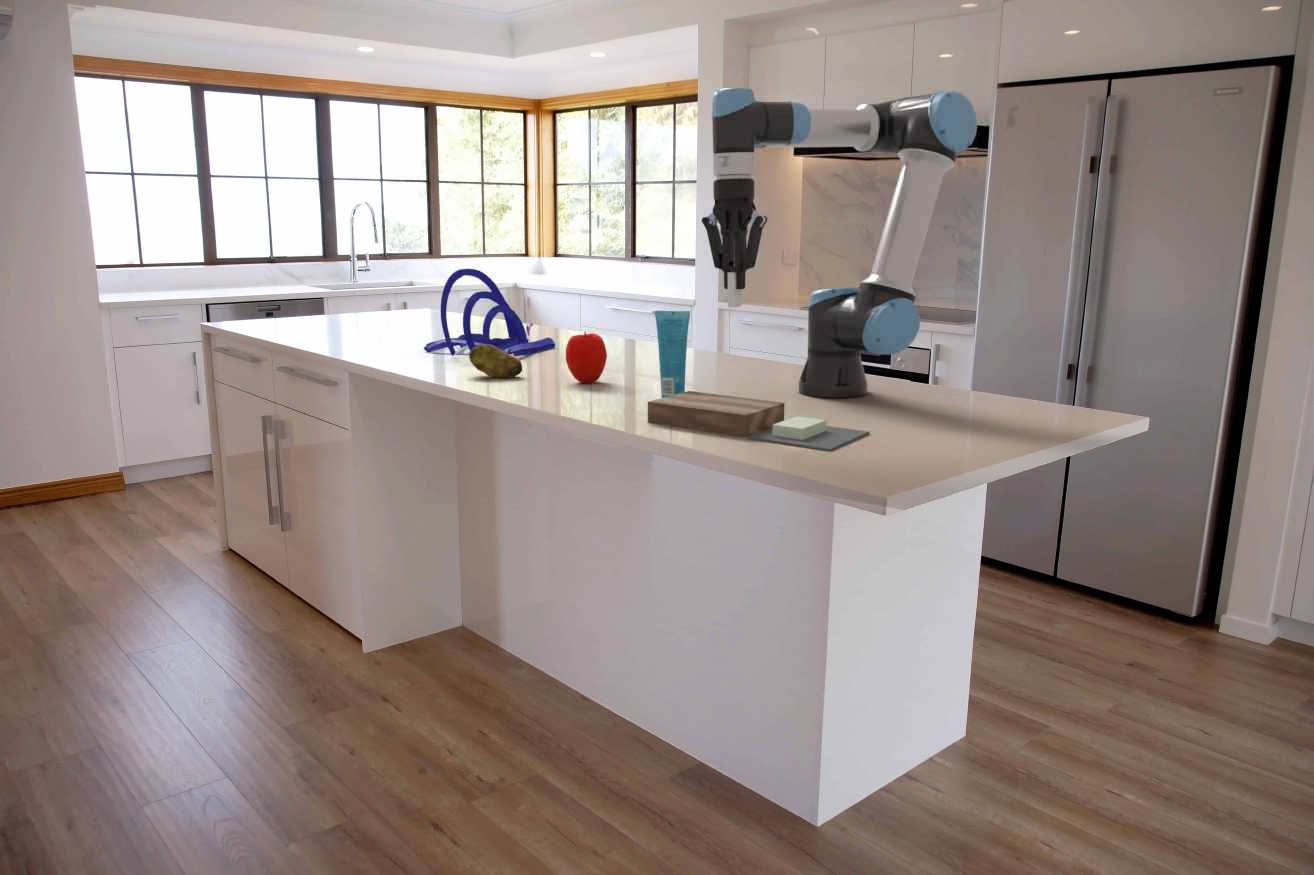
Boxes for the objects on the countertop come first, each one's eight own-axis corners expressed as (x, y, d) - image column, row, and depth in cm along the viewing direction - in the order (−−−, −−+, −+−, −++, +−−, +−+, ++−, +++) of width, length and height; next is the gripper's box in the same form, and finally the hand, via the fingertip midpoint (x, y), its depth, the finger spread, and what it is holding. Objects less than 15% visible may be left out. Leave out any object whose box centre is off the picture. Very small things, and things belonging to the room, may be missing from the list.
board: (688, 410, 196) (688, 390, 195) (784, 423, 183) (784, 402, 182) (647, 422, 185) (647, 401, 184) (746, 436, 172) (746, 415, 171)
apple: (584, 377, 236) (583, 327, 234) (616, 381, 231) (615, 330, 228) (557, 383, 228) (556, 331, 226) (589, 387, 223) (588, 334, 220)
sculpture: (510, 360, 262) (500, 264, 257) (407, 365, 275) (395, 274, 271) (570, 347, 293) (562, 261, 289) (474, 352, 307) (465, 270, 302)
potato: (504, 381, 231) (502, 348, 229) (464, 377, 238) (463, 344, 236) (526, 376, 238) (525, 344, 236) (487, 372, 245) (486, 341, 243)
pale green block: (826, 420, 175) (825, 430, 175) (797, 416, 178) (796, 426, 179) (802, 428, 168) (802, 440, 168) (772, 424, 171) (772, 435, 172)
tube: (689, 398, 209) (689, 309, 205) (690, 402, 204) (690, 311, 200) (655, 398, 209) (654, 309, 205) (655, 402, 204) (654, 311, 200)
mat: (791, 423, 184) (791, 421, 183) (869, 433, 174) (869, 431, 174) (747, 438, 171) (747, 436, 171) (829, 451, 162) (829, 448, 162)
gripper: (692, 179, 177) (695, 307, 183) (755, 176, 170) (755, 310, 175) (713, 179, 183) (715, 303, 189) (775, 176, 176) (774, 305, 181)
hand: (734, 306), depth 182 cm, fingers closed
